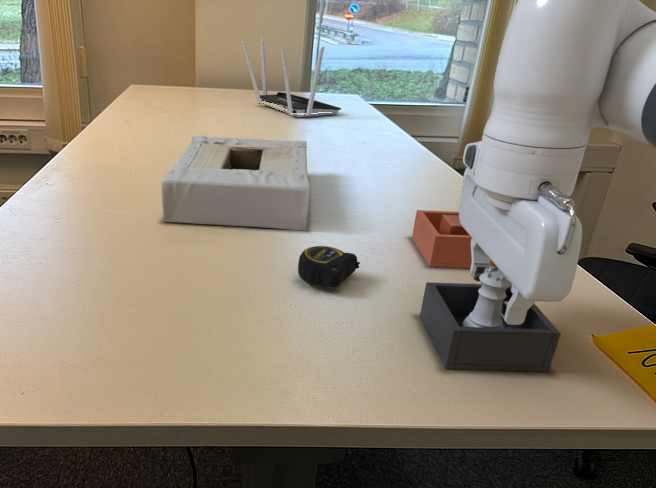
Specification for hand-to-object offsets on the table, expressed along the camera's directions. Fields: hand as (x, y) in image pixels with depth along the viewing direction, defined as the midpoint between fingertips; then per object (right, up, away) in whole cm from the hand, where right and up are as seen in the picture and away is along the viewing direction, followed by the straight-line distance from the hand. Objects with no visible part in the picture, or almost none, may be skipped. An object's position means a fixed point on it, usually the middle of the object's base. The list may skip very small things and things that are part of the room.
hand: (493, 298), depth 61 cm
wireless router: (-14, +58, +121) cm, 135 cm away
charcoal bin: (-1, -5, +3) cm, 6 cm away
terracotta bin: (+4, +7, +25) cm, 26 cm away
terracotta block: (+4, +7, +24) cm, 26 cm away
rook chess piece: (-1, -5, +2) cm, 5 cm away
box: (-27, +18, +45) cm, 56 cm away
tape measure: (-16, +2, +15) cm, 22 cm away
